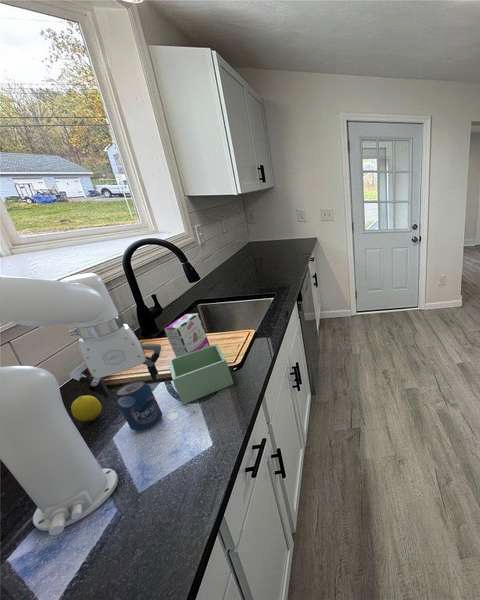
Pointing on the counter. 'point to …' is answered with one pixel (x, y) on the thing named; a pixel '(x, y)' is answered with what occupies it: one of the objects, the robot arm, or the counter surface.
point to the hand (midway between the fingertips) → (131, 386)
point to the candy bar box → (187, 335)
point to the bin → (200, 373)
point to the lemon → (86, 408)
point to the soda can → (138, 405)
